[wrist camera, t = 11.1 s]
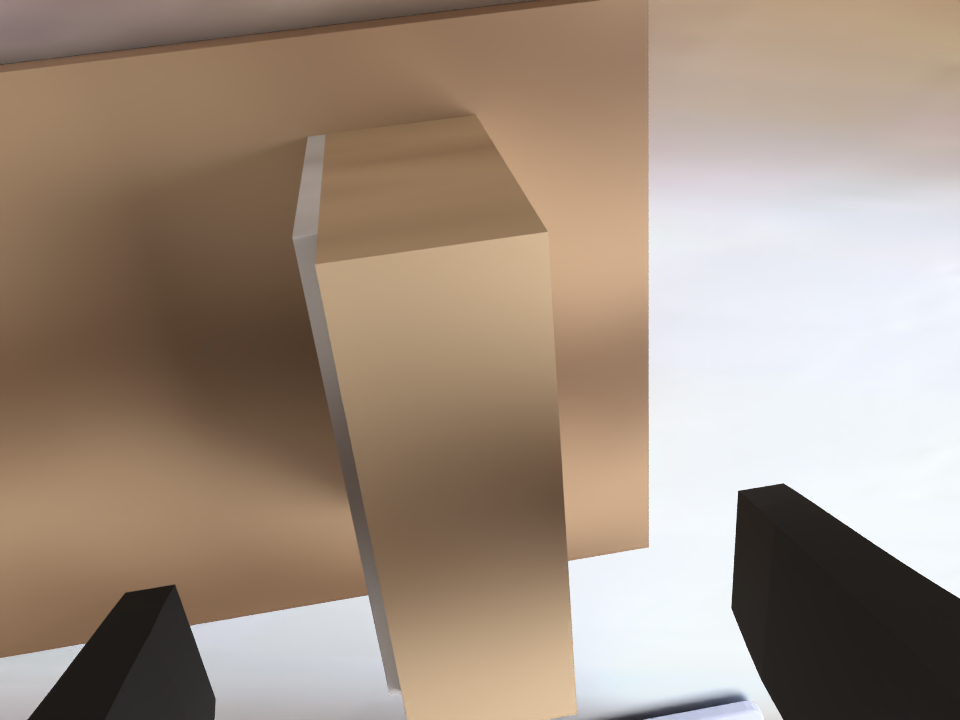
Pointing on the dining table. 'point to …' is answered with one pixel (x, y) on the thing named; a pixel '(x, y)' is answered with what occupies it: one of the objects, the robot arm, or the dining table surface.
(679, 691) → the dining table surface
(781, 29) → the dining table surface
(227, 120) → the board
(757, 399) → the dining table surface
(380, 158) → the light wood block
